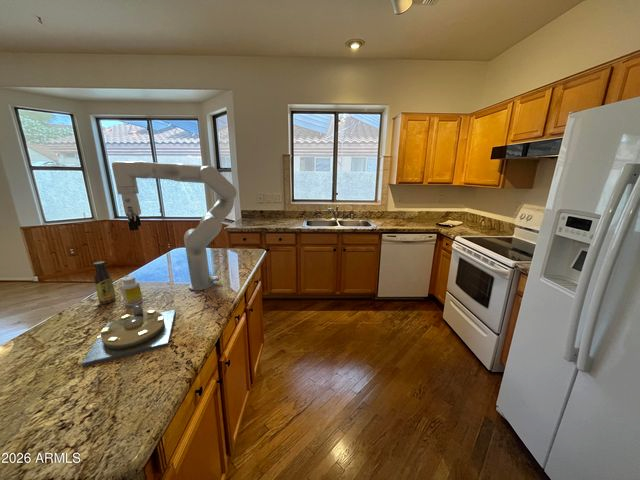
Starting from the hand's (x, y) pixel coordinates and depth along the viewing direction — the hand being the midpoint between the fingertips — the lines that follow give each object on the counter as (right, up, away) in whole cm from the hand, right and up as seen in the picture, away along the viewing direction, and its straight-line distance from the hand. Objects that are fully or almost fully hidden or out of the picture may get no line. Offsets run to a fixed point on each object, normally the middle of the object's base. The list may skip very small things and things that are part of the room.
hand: (135, 228), depth 116 cm
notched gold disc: (+15, -40, -21) cm, 48 cm away
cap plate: (+15, -42, -20) cm, 49 cm away
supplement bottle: (-3, -36, +4) cm, 36 cm away
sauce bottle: (-17, -35, +5) cm, 40 cm away
